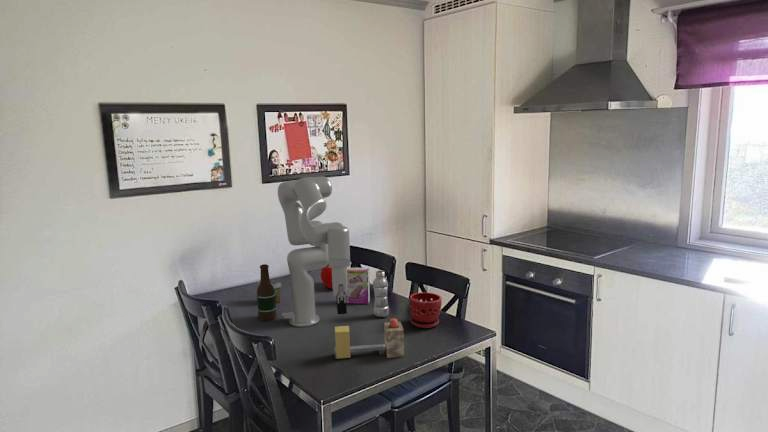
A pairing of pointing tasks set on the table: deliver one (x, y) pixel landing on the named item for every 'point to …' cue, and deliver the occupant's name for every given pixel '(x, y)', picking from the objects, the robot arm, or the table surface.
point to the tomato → (327, 276)
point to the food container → (277, 290)
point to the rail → (367, 348)
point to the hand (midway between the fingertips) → (341, 308)
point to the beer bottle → (266, 297)
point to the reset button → (393, 323)
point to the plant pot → (425, 309)
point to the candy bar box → (358, 286)
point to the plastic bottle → (380, 295)
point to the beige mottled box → (394, 340)
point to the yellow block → (342, 342)
